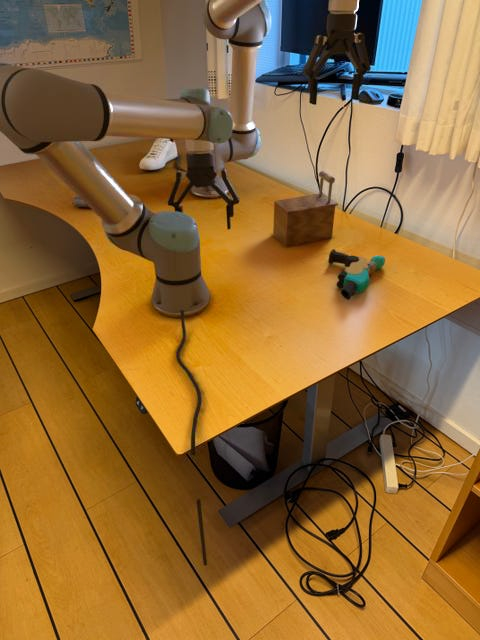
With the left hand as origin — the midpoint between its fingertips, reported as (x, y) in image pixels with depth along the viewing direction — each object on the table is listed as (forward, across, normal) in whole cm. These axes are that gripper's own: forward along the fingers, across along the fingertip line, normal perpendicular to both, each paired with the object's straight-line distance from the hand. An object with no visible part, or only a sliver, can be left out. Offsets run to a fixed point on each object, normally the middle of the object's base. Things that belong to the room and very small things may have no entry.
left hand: (205, 228), depth 138 cm
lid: (-2, -30, -18) cm, 35 cm away
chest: (+9, -29, -19) cm, 36 cm away
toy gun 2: (+14, -40, +8) cm, 43 cm away
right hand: (-31, -37, -16) cm, 51 cm away
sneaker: (-5, +33, -90) cm, 96 cm away
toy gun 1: (+2, +46, -44) cm, 64 cm away
